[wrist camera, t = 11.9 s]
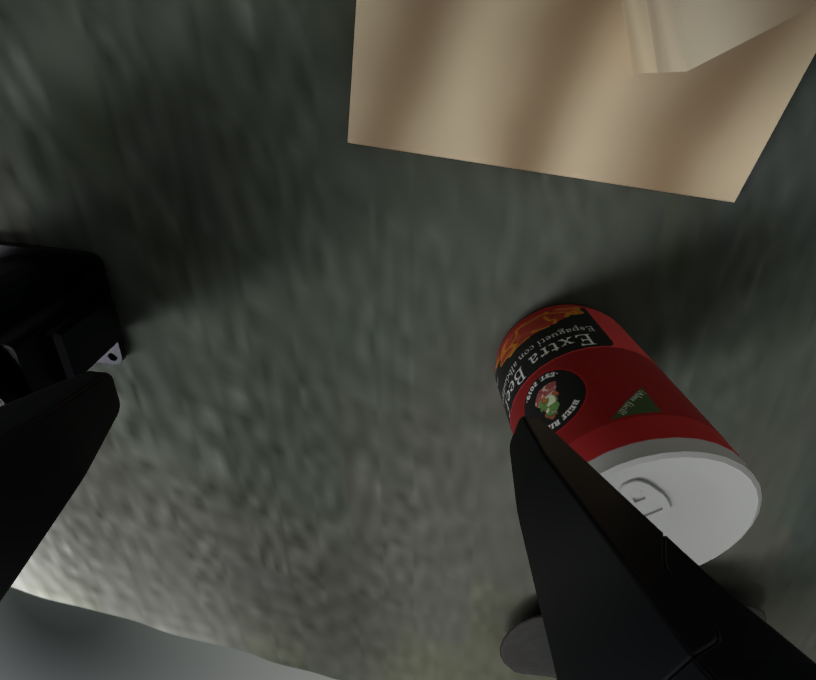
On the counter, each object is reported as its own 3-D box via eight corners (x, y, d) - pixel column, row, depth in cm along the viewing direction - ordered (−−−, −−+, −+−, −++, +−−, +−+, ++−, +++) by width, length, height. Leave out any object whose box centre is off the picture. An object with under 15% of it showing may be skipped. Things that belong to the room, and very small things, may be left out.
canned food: (565, 272, 22) (691, 415, 12) (650, 352, 25) (805, 519, 15) (463, 364, 25) (503, 535, 15) (550, 427, 28) (627, 604, 18)
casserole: (490, 665, 47) (507, 770, 40) (502, 575, 37) (527, 692, 30) (713, 655, 47) (770, 759, 40) (784, 561, 37) (877, 677, 30)
